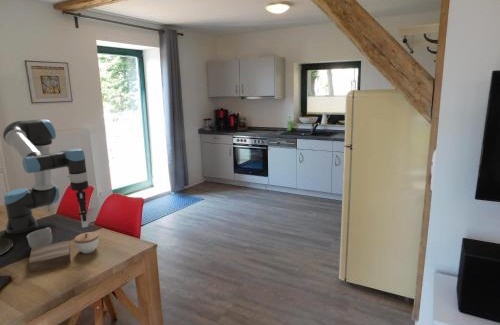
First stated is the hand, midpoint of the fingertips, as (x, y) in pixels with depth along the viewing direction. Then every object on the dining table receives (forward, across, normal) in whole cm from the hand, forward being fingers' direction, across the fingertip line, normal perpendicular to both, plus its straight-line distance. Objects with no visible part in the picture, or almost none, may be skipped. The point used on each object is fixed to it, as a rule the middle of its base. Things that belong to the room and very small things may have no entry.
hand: (84, 222), depth 160 cm
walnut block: (+16, +1, -16) cm, 23 cm away
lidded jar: (+16, 0, 0) cm, 16 cm away
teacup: (+16, -18, -20) cm, 31 cm away
